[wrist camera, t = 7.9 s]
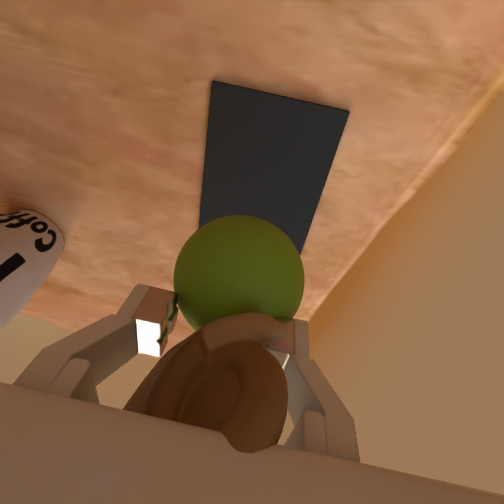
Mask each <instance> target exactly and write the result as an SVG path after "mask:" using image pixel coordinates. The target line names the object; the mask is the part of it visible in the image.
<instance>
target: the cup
mask: <svg viewBox="0 0 504 504" xmlns="http://www.w3.org/2000/svg"><path fill="white" fill-rule="evenodd" d="M63 248H64V239H63V236H62V234H61V232H60V230H59V229H58V228H57V226H56V225H55V224H54V223H53V222H52V221H51V220H49V219H48V218H46V217H45V216H43V215H41V214H39V213H37V212H34V211H30V210H20V211H15V212H10V213H4V214H0V331H1V330H2V329H3V328H4V327H5V326H6V325H7V324H8V323H9V322H10V321H11V320H12V319H13V318H14V316H16V314H17V313H18V312H19V311H20V310H21V309H22V308H23V307H24V306H25V305H26V304H27V303H28V302H29V301H30V299H31V298H32V297H33V295H34V294H35V293H36V291H37V290H38V289H39V287H40V286H41V285H42V283H43V282H44V281H45V279H46V278H47V277H48V275H49V274H50V273H51V271H52V270H53V268H54V266H55V264H56V262H57V260H58V258H59V256H60V254H61V252H62V250H63Z"/></svg>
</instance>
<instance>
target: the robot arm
mask: <svg viewBox="0 0 504 504" xmlns="http://www.w3.org/2000/svg"><path fill="white" fill-rule="evenodd" d="M178 300H179V294H178V293H176V292H172V291H168V290H164V289H160V288H156V287H151V286H147V285H143V284H140V283H139V284H138V285H136V286H135V288H134V289H133V291H132V292H131V293H130V295H129V296H128V298H127V299H126V301H125V302H124V304H123V305H122V307H121V308H120V309H119V311H118V312H117V314H116V315H114V314H111V315H109V316H107V317H105V318H103V319H101V320H99V321H97V322H95V323H93V324H91V325H89V326H87V327H85V328H83V329H81V330H79V331H77V332H75V333H73V334H71V335H69V336H67V337H66V338H64V339H61V340H59V341H57V342H55V343H53V344H51V345H50V346H47V347H46V348H44V349H42V350H41V352H40V353H39V354H38V355H37V356H36V357H35V359H34V360H33V361H32V362H31V363H30V365H29V366H28V367H27V368H26V369H25V370H24V371H23V373H22V374H21V375H20V376H19V377H18V378H17V380H16V381H15V382H14V383H13V384H12V385H10V384H6V383H1V382H0V504H504V495H502V494H497V493H492V492H488V491H483V490H479V489H475V488H470V487H466V486H461V485H457V484H452V483H448V482H444V481H439V480H435V479H430V478H426V477H421V476H417V475H412V474H408V473H403V472H399V471H394V470H389V469H385V468H381V467H376V466H372V465H368V464H363V463H360V458H359V451H358V445H357V438H356V432H355V425H354V419H353V417H352V416H351V415H350V413H349V412H348V410H347V409H346V407H345V406H344V404H343V403H342V401H341V400H340V398H339V397H338V395H337V394H336V392H335V391H334V389H333V388H332V386H331V385H330V383H329V382H328V381H327V379H326V377H325V376H324V375H323V373H322V372H321V370H320V369H319V367H318V366H317V364H316V363H315V361H314V360H313V359H310V358H309V339H308V323H307V321H303V320H298V319H293V318H289V317H285V316H275V317H272V318H274V319H275V320H277V321H279V322H280V323H281V324H283V325H284V326H285V328H286V329H287V335H286V337H285V338H284V339H282V340H280V341H277V342H273V343H268V344H265V345H264V346H263V347H264V348H265V349H266V350H268V351H269V352H270V353H271V354H272V355H274V356H275V357H276V359H277V360H278V361H279V363H280V364H281V366H282V368H283V370H284V373H285V376H286V380H287V386H288V405H287V410H288V412H289V414H290V416H291V419H292V421H293V424H294V426H295V428H294V429H293V431H292V433H291V434H290V436H289V438H288V439H287V441H286V443H285V444H284V446H283V445H278V444H275V445H272V446H271V447H269V448H267V449H264V450H261V451H258V452H255V453H243V452H239V451H237V450H235V449H234V448H233V447H232V446H231V445H230V444H229V442H228V440H227V439H226V437H225V436H224V435H223V434H222V433H221V432H220V431H216V430H212V429H207V428H203V427H198V426H194V425H189V424H185V423H180V422H176V421H171V420H167V419H162V418H158V417H153V416H149V415H145V414H140V413H136V412H131V411H127V410H122V409H118V408H113V407H109V406H104V405H100V404H99V400H98V396H97V391H96V387H95V386H96V385H98V384H99V383H100V382H102V381H103V380H104V379H106V378H107V377H108V376H109V375H111V374H112V373H113V372H115V371H116V370H117V369H119V368H120V367H121V366H123V365H124V364H125V363H127V362H128V361H129V360H130V359H131V358H133V357H134V356H136V355H137V354H138V353H142V354H147V355H152V356H158V357H161V355H162V353H163V351H164V349H165V347H166V344H167V342H168V334H170V333H172V331H173V328H174V326H175V323H176V320H177V315H178V307H177V306H176V305H177V302H178Z"/></svg>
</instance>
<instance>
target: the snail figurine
mask: <svg viewBox="0 0 504 504" xmlns="http://www.w3.org/2000/svg"><path fill="white" fill-rule="evenodd" d="M303 291H304V269H303V265H302V261H301V258H300V255H299V253H298V251H297V249H296V247H295V246H294V244H293V243H292V241H291V240H290V239H289V237H288V236H287V235H286V234H285V233H284V232H283V231H281V230H280V229H279V228H278V227H276V226H275V225H273V224H272V223H270V222H268V221H266V220H263V219H261V218H257V217H253V216H248V215H231V216H225V217H221V218H218V219H215V220H213V221H211V222H209V223H207V224H205V225H204V226H202V227H201V228H199V229H198V230H197V231H196V232H195V233H194V234H193V235H192V236H191V237H190V238H189V239H188V240H187V242H186V243H185V244H184V246H183V248H182V249H181V251H180V253H179V256H178V258H177V261H176V265H175V270H174V292H176V293H178V294H179V300H178V302H177V303H178V306H179V308H180V310H181V312H182V314H183V316H184V317H185V319H186V320H187V321H188V323H189V324H190V325H191V326H192V327H193V328H194V329H195V330H196V332H194V333H193V334H192V335H190V336H189V337H188V338H186V339H185V340H183V341H182V342H180V343H178V344H177V345H175V346H174V347H173V348H171V349H170V350H169V351H168V352H167V353H166V354H165V355H164V356H163V357H162V358H161V359H160V360H159V361H158V362H157V364H156V365H155V366H154V368H153V369H152V370H151V371H150V373H149V374H148V375H147V376H146V378H145V379H144V380H143V382H142V383H141V384H140V386H139V387H138V389H137V390H136V391H135V393H134V394H133V395H132V397H131V398H130V399H129V401H128V402H127V404H126V405H125V407H124V408H123V410H127V411H131V412H136V413H140V414H145V415H149V416H153V417H158V418H162V419H167V420H171V421H176V422H180V423H185V424H189V425H194V426H198V427H203V428H207V429H212V430H216V431H220V432H221V433H222V434H223V435H224V436H225V437H226V439H227V440H228V442H229V444H230V445H231V446H232V447H233V448H234V449H235V450H237V451H239V452H243V453H255V452H258V451H261V450H264V449H267V448H269V447H271V446H272V445H275V444H277V443H278V440H279V438H280V436H281V433H282V430H283V426H284V423H285V419H286V414H287V405H288V386H287V380H286V376H285V373H284V370H283V368H282V366H281V364H280V363H279V361H278V360H277V359H276V357H275V356H274V355H272V354H271V353H270V352H269V351H268V350H266V349H265V348H264V347H263V346H264V345H265V344H268V343H273V342H277V341H280V340H282V339H284V338H285V337H286V335H287V329H286V328H285V326H284V325H283V324H281V323H280V322H279V321H277V320H275V319H274V318H272V317H275V316H285V317H289V318H293V317H294V315H295V313H296V312H297V310H298V308H299V305H300V303H301V300H302V296H303Z"/></svg>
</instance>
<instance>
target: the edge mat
mask: <svg viewBox="0 0 504 504" xmlns="http://www.w3.org/2000/svg"><path fill="white" fill-rule="evenodd" d="M349 113H350V112H349V111H347V110H342V109H338V108H333V107H329V106H325V105H320V104H316V103H311V102H307V101H302V100H298V99H294V98H289V97H285V96H280V95H276V94H271V93H267V92H263V91H258V90H254V89H249V88H245V87H240V86H236V85H231V84H227V83H223V82H218V81H214V80H213V81H212V83H211V95H210V106H209V117H208V129H207V140H206V151H205V162H204V174H203V185H202V196H201V208H200V219H199V228H201V227H202V226H204V225H205V224H207V223H209V222H211V221H213V220H215V219H218V218H221V217H225V216H231V215H248V216H253V217H257V218H261V219H263V220H266V221H268V222H270V223H272V224H273V225H275V226H276V227H278V228H279V229H280V230H281V231H283V232H284V233H285V234H286V235H287V236H288V237H289V239H290V240H291V241H292V243H293V244H294V246H295V247H296V249H297V251H298V253H299V255H300V254H301V251H302V248H303V245H304V242H305V240H306V237H307V234H308V231H309V228H310V225H311V222H312V219H313V217H314V214H315V211H316V208H317V205H318V202H319V199H320V196H321V194H322V191H323V188H324V185H325V182H326V179H327V176H328V173H329V171H330V168H331V165H332V162H333V159H334V156H335V153H336V150H337V147H338V145H339V142H340V139H341V136H342V133H343V130H344V127H345V124H346V122H347V119H348V116H349Z"/></svg>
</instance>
